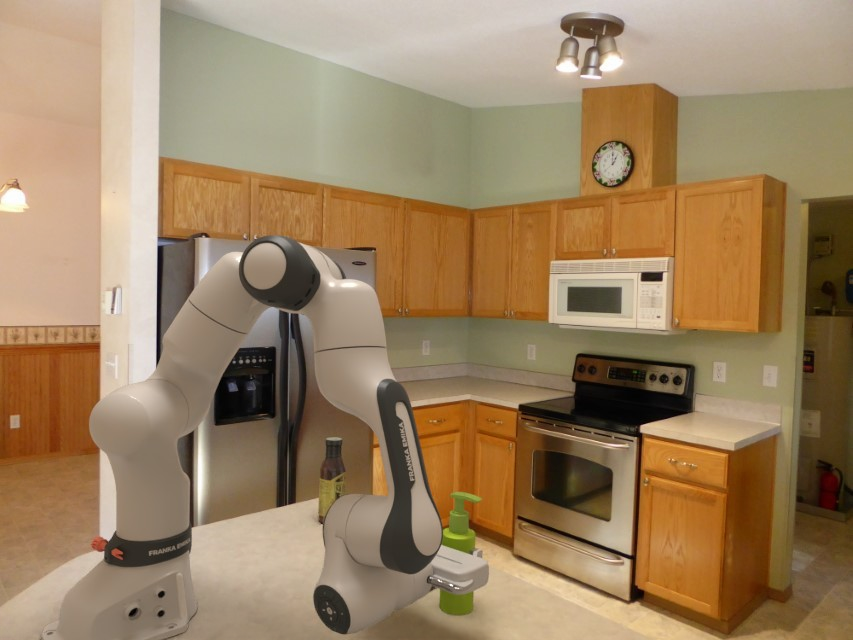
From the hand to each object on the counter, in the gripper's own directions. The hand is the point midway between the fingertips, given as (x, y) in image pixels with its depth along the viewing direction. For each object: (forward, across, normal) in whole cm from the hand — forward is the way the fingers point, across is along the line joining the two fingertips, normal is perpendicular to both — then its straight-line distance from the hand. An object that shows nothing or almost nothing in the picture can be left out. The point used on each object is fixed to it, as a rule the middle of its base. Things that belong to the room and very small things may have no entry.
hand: (456, 545), depth 104 cm
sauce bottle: (+15, +47, +11) cm, 51 cm away
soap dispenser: (+1, 0, +11) cm, 11 cm away
